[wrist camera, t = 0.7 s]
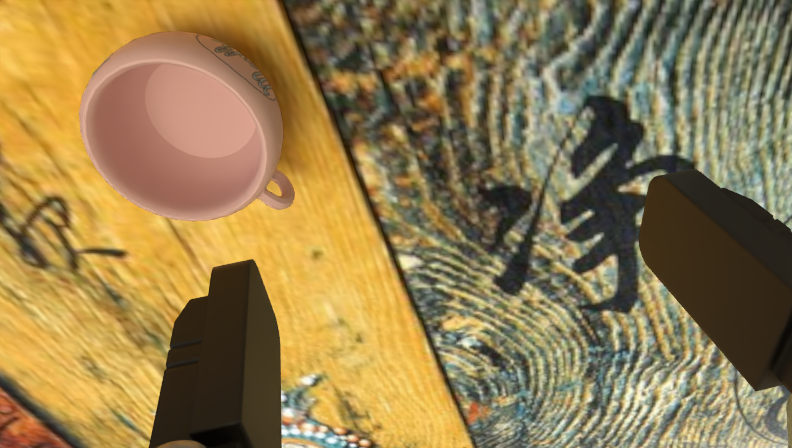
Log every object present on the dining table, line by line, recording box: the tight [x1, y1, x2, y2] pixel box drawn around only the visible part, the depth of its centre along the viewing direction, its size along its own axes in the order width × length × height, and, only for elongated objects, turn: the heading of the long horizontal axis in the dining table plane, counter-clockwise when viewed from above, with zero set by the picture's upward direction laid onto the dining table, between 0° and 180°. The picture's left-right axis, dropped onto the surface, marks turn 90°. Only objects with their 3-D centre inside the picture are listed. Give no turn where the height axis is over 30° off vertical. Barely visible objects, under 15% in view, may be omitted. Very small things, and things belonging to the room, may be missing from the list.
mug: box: [79, 31, 295, 221], centre depth 30 cm, size 12×10×6 cm
